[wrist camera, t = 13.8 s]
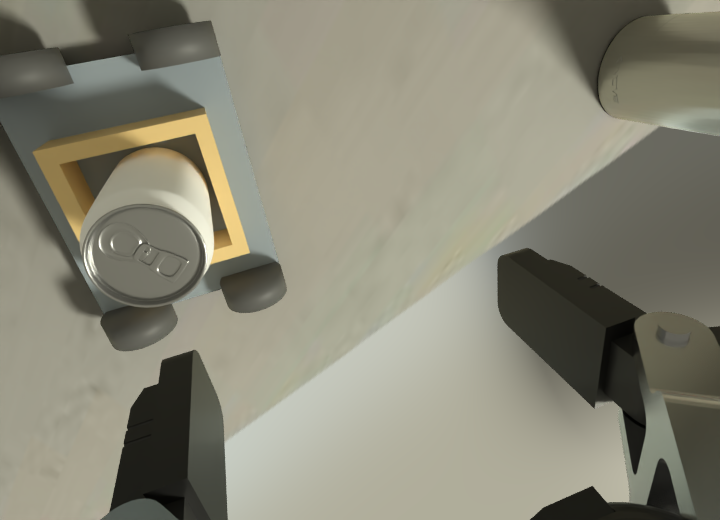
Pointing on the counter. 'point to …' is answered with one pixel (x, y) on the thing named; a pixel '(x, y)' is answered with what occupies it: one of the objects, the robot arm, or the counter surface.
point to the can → (149, 230)
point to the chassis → (134, 132)
